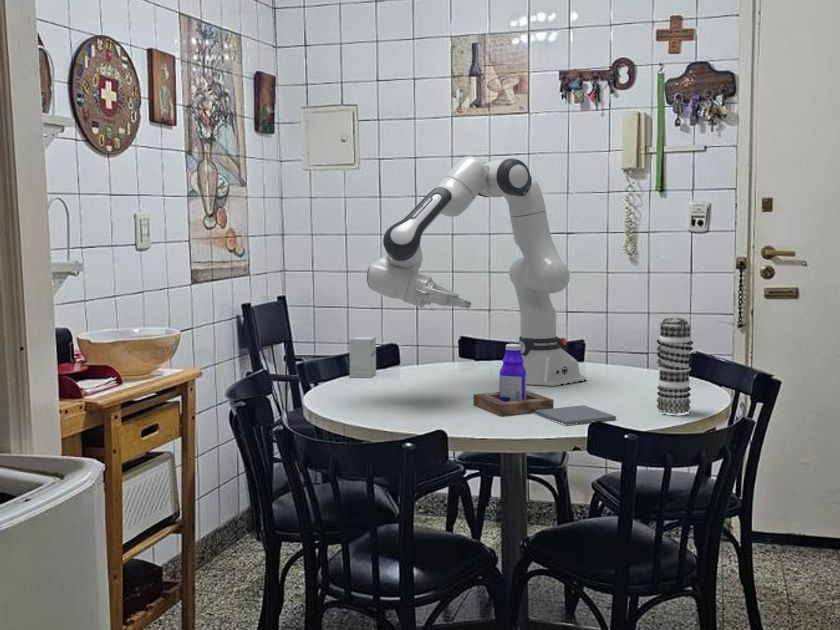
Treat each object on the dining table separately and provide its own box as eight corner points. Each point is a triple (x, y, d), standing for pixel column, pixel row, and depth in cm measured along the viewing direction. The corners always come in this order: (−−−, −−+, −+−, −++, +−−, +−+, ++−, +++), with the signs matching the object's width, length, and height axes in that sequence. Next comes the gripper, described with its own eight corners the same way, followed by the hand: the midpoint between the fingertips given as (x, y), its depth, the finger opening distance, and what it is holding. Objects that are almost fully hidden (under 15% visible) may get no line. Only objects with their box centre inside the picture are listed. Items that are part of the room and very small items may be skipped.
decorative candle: (685, 418, 243) (688, 321, 240) (650, 414, 248) (652, 319, 245) (696, 411, 251) (698, 317, 248) (661, 407, 255) (663, 316, 253)
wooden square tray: (524, 399, 268) (524, 389, 268) (553, 410, 253) (553, 399, 253) (473, 404, 262) (473, 394, 261) (500, 416, 247) (500, 405, 247)
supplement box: (371, 378, 305) (370, 339, 303) (349, 377, 306) (348, 339, 305) (376, 374, 312) (376, 336, 311) (355, 373, 313) (354, 336, 312)
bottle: (528, 406, 259) (528, 343, 257) (523, 410, 254) (523, 346, 252) (502, 405, 261) (502, 342, 259) (497, 409, 256) (497, 345, 254)
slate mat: (583, 408, 255) (583, 405, 255) (615, 419, 241) (615, 416, 241) (535, 414, 249) (535, 410, 249) (565, 425, 236) (565, 421, 236)
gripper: (416, 278, 254) (464, 293, 251) (431, 281, 274) (476, 295, 271) (409, 300, 254) (457, 316, 251) (425, 302, 274) (470, 316, 271)
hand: (467, 305), depth 261 cm, fingers open, 8 cm apart
